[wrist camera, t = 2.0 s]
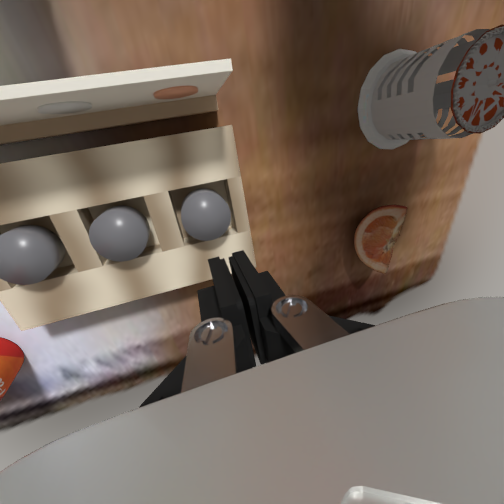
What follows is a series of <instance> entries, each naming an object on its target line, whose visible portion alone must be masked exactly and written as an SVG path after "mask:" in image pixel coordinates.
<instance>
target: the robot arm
mask: <svg viewBox="0 0 504 504" xmlns="http://www.w3.org/2000/svg"><path fill="white" fill-rule="evenodd" d="M208 263H209V267H210V271H211V275H212V278H213V282H214V286H211V287H208V288H204V289H201V290H198V299H199V307H200V315H201V323H199V324H198V325H197V326H196V327H195V328H194V329H193V330H192V331H191V334H190V337H189V344H188V350H187V356H186V357H185V358H184V359H183V360H182V361H181V362H180V363H179V364H178V365H177V366H176V367H175V369H174V370H173V371H172V372H171V373H170V374H169V375H168V376H167V377H166V378H165V379H164V380H163V382H162V383H161V384H160V385H159V386H158V387H157V388H156V389H155V390H154V392H152V394H151V395H150V396H149V397H148V398H147V399H146V400H145V401H144V402H143V403H142V404H141V406H140V407H139V408H137V409H134V410H131V411H128V412H126V413H122V414H120V415H117V416H115V417H112V418H109V419H107V420H104V421H102V422H99V423H96V424H94V425H91V426H88V427H86V428H84V429H81V430H78V431H76V432H73V433H71V434H69V435H66V436H64V437H62V438H60V439H58V440H55V441H53V442H51V443H49V444H47V445H45V446H43V447H41V448H40V449H38V450H36V451H34V452H32V453H30V454H28V455H26V456H25V457H23V458H21V459H19V460H18V461H16V462H15V463H13V464H12V465H10V466H8V467H7V468H5V469H4V470H2V471H1V472H0V504H504V297H479V298H472V299H463V300H458V301H454V302H450V303H446V304H441V305H438V306H435V307H431V308H428V309H425V310H422V311H418V312H415V313H412V314H409V315H406V316H403V317H400V318H397V319H394V320H391V321H388V322H385V323H382V324H379V325H376V326H375V325H371V324H366V323H361V322H356V321H352V320H347V319H342V318H338V317H333V316H328V315H327V314H325V313H324V312H323V311H322V310H320V309H319V308H318V307H317V306H316V305H314V304H313V303H312V302H311V301H310V300H308V299H307V298H305V297H302V296H299V295H288V296H285V294H284V293H283V291H282V290H281V289H280V287H279V286H278V284H277V283H276V282H275V280H274V279H273V278H272V276H271V275H270V273H269V272H268V271H265V272H262V273H258V272H257V271H256V269H255V267H254V266H253V264H252V263H251V261H250V260H249V258H248V256H247V255H246V253H245V252H244V250H242V251H238V252H234V253H232V256H231V257H229V263H230V267H231V272H232V276H233V278H232V276H231V273H230V271H229V268H228V266H227V264H226V261H225V259H224V258H223V259H220V258H219V256H218V257H215V258H211V259H208ZM250 337H251V339H250ZM251 340H252V342H253V345H254V348H255V350H256V353H257V356H258V358H259V360H260V363H261V364H263V365H260V366H257V367H256V363H255V358H254V353H253V349H252V344H251ZM264 363H266V364H264ZM253 367H254V368H253Z"/></svg>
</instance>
